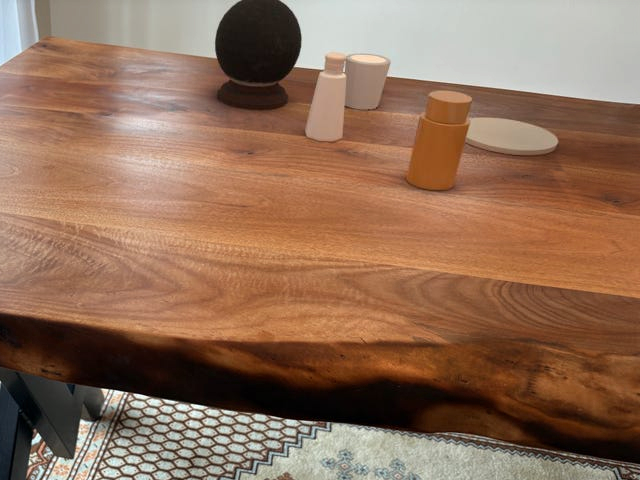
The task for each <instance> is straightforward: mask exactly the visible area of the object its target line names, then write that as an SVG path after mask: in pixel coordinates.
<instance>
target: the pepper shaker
mask: <svg viewBox="0 0 640 480" xmlns="http://www.w3.org/2000/svg"><path fill="white" fill-rule="evenodd" d="M346 56H347V55H346V54H344V53H341V52H328V53H325V56H324V59H325V61H324V64H323V65H324V68H323V70H322V71H320V72H319V73H318V74H319V75H318V77H317V81H316V86H315V89H314V93H313V97H312V100H311V101H312V102H311V105H310V109H309V113H308V116H307V121H306V125H305V129H304V133H305V136H306V138H308V139H311V140H314V141H316V142H327V143H329V142H330V143H333V142H336V141H339V140H342V139H343V132H344V120H345V119H344V118H345V107H346V106H345V92H346V75H345V62H346V58H347V57H346Z"/></svg>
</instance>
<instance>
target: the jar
mask: <svg viewBox="0 0 640 480" xmlns="http://www.w3.org/2000/svg"><path fill="white" fill-rule="evenodd" d="M427 97H428V100H427V104H426V108H425V111H422V112H421V113H420V115H419V119H418V124H417V127H416V132H415V137H414V140H413V144H412V145H413V146H412V149H411V154H410V158H409V162H408V167H407V171H406V176H405V180H406V181H407V183H408V184H410V185H411V186H413V187H417V188H420V189H423V190H428V191H448V190H450V189H452V188H453V187H454V185H455V181H456V178H457V175H458V171H459V167H460V163H461V159H462V155H463V152H464V148H465V145H466V142H465V141H466V138H467V134H468V130H469V126H470V123H471V121H470V118H469V113H470V109H471V105H472V102H473V98H472V97H471V96H470V95H468V94H466V93H462V92H459V91H453V90H452V91H451V90H434V91H431V92H430V93H428V94H427Z"/></svg>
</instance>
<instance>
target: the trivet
mask: <svg viewBox="0 0 640 480" xmlns="http://www.w3.org/2000/svg"><path fill="white" fill-rule="evenodd" d="M469 119H470V121H471V123H470V126H469V130H468V134H467V138H466V141H465V144H468V145H470V146H473V147H475V148H478V149H481V150H485V151H489V152H494V153H498V154H504V155H512V156H540V155H541V156H542V155H546V154H550V153H552V152H554V151H555V150H556V149H557V147H558V144H559V139H558V137H557V136H556V135H555V134H554V133H553V132H551V131H548V130H547V129H545V128H542V127H540V126H538V125H534V124H531V123H528V122H523V121H519V120H514V119H508V118H501V117H472V118H471V117H470V118H469Z"/></svg>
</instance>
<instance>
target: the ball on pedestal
mask: <svg viewBox="0 0 640 480" xmlns="http://www.w3.org/2000/svg"><path fill="white" fill-rule="evenodd" d="M302 40H303V37H302V30H301V26H300V23H299V20H298V18H297V16H296V14H295V13H294V11H293V10H292V9H291V8H290V7H289V5H287V4H286V3H285V2H283V1H282V0H239V1H236V3H234V4H233V5H231V7H229V9H228V10H227V11H226V12H225V13H224V15H222V18H221V20H220V21H219V23H218V26H217V29H216V32H215V39H214V52H215V57H216V60H217V63H218V65H219V67H220V68H221V70H222V72H223V73H224V75H225V76H226V77H228V79H229V80H228V81H226V82H223V83H222V85H220V88H219V89H218V90H217V96H216V99H217V100H218V101H219V102H220V103H222V104H225V105H226V106H230V107H234V108H239V109H245V110H256V111H257V110H259V111H261V110H262V111H264V110H274V109H278V108H282V107H284V106H286V105H287V104H288V101H289V95H288V93H287V92H286V89H285V88H284V87H283V86H282V85H280V83H279V82H281V81H282V80H284V79H285V78H287V76H288V75H289V74H290V73H291V72H292V70H293V69H294V67H295V66H296V64H297V62H298V59H299V57H300V54H301V50H302Z"/></svg>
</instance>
